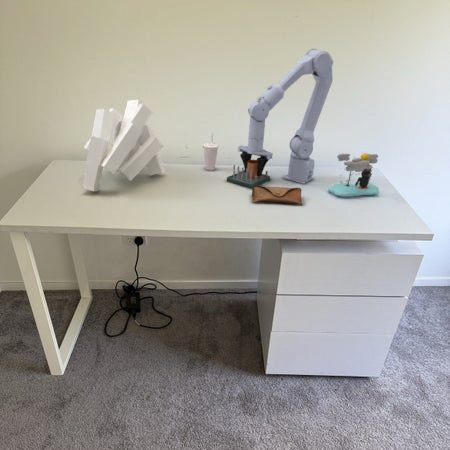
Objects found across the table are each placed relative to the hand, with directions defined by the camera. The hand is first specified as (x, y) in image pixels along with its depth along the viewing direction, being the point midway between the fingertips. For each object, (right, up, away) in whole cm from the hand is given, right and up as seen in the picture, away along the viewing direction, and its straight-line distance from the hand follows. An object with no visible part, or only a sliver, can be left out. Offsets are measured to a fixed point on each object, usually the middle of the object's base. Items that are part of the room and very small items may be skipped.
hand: (253, 173), depth 151 cm
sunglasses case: (+8, -14, -14) cm, 21 cm away
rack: (-2, -2, +1) cm, 3 cm away
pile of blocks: (-49, -3, -2) cm, 50 cm away
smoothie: (-17, +5, +11) cm, 21 cm away
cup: (0, -1, +1) cm, 1 cm away
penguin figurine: (+38, -9, -5) cm, 39 cm away
